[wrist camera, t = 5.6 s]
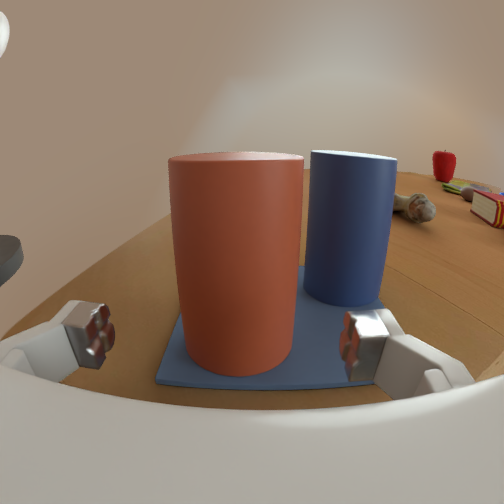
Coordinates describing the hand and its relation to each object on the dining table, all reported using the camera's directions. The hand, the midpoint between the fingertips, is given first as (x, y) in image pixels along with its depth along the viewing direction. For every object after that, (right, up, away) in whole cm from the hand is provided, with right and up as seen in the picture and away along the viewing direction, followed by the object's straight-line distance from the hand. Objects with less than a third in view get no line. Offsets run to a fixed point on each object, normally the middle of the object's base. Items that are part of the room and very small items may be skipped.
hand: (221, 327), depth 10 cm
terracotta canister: (0, -3, +7) cm, 7 cm away
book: (+56, +8, +36) cm, 67 cm away
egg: (+60, +16, +56) cm, 84 cm away
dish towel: (+72, +22, +71) cm, 104 cm away
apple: (+80, +32, +96) cm, 129 cm away
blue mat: (+3, -2, +10) cm, 11 cm away
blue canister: (+8, 0, +13) cm, 15 cm away
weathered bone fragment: (+26, +8, +35) cm, 44 cm away
